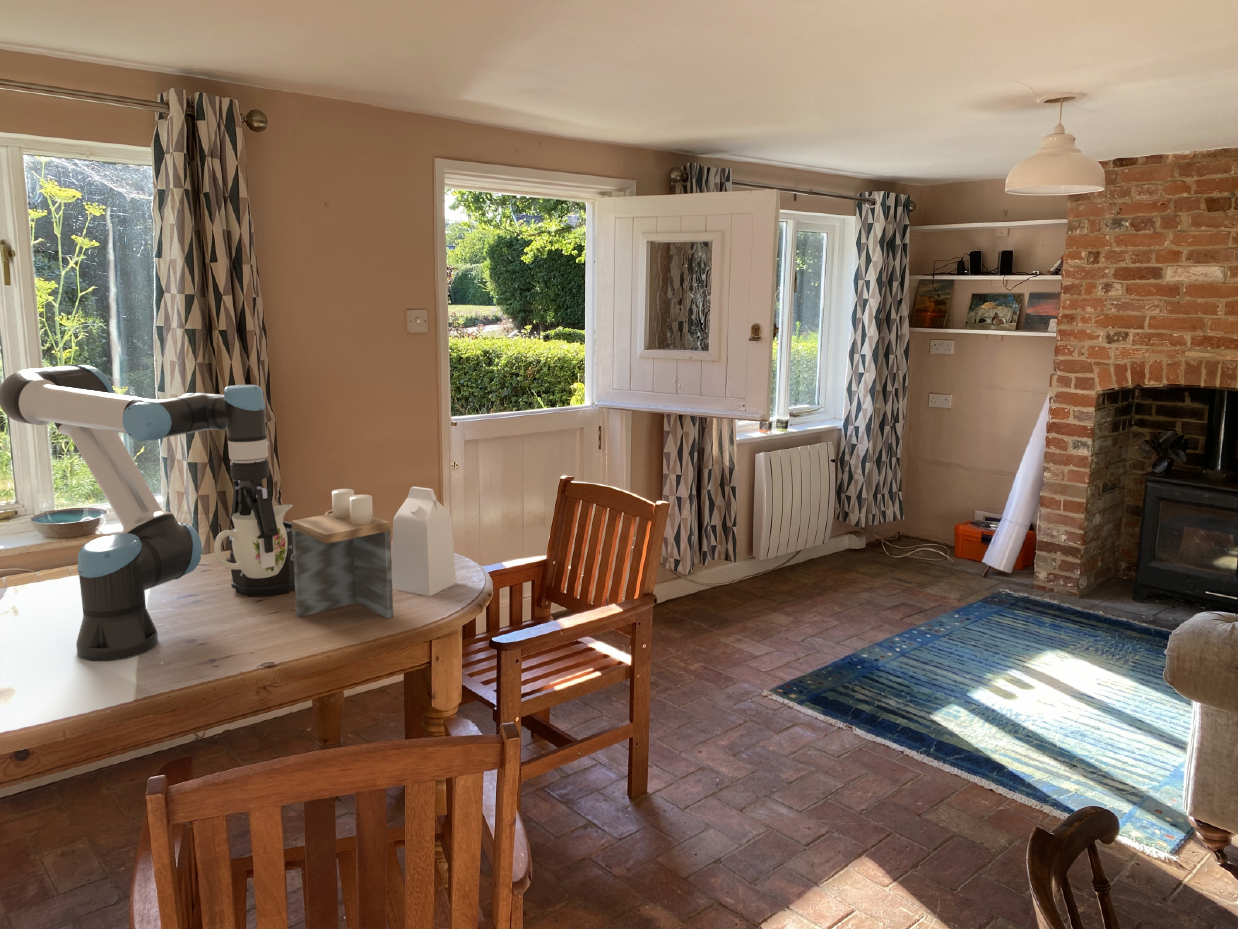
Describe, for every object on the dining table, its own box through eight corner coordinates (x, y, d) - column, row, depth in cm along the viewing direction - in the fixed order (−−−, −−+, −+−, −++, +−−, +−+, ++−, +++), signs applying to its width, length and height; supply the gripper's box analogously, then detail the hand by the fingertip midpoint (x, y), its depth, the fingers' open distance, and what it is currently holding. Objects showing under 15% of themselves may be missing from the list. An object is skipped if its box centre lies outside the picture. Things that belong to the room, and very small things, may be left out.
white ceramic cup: (357, 526, 205) (356, 500, 204) (346, 522, 209) (345, 496, 207) (377, 522, 209) (376, 497, 208) (365, 518, 212) (364, 493, 211)
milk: (456, 583, 239) (454, 486, 234) (429, 596, 229) (427, 495, 223) (418, 576, 244) (416, 481, 239) (391, 588, 233) (388, 490, 228)
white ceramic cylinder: (339, 519, 211) (338, 494, 209) (328, 515, 214) (327, 490, 213) (358, 516, 214) (358, 491, 213) (348, 512, 218) (347, 487, 216)
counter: (330, 634, 203) (326, 534, 198) (296, 615, 213) (291, 520, 209) (393, 616, 214) (390, 522, 209) (357, 599, 225) (354, 509, 220)
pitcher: (204, 580, 191) (198, 516, 188) (282, 560, 205) (277, 501, 202) (231, 590, 184) (226, 524, 181) (310, 569, 198) (306, 508, 195)
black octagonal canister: (230, 579, 238) (226, 521, 235) (302, 573, 244) (299, 516, 241) (227, 602, 221) (222, 540, 218) (304, 595, 228) (301, 534, 224)
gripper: (290, 464, 184) (297, 569, 188) (245, 450, 201) (252, 546, 205) (253, 469, 179) (262, 576, 183) (210, 454, 195) (218, 553, 200)
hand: (257, 561), depth 194 cm, fingers closed on pitcher, 11 cm apart
